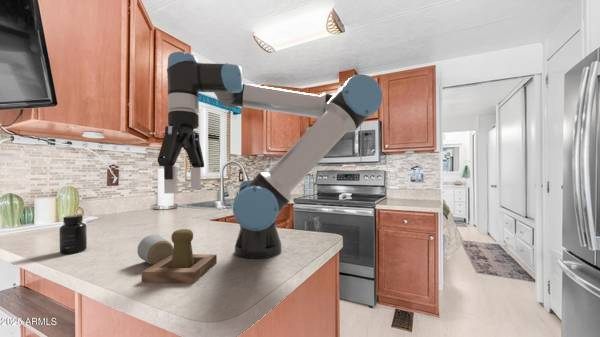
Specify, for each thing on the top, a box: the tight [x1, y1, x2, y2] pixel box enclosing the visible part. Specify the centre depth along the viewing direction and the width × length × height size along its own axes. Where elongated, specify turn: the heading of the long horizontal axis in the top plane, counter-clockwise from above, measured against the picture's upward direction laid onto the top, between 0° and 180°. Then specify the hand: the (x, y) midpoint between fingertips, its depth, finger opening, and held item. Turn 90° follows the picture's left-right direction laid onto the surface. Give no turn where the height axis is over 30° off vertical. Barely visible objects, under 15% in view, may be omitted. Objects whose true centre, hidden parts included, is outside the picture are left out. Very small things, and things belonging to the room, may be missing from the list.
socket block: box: [141, 253, 218, 284], centre depth 66 cm, size 13×13×2 cm
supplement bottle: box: [59, 214, 88, 255], centre depth 85 cm, size 7×7×12 cm
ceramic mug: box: [137, 234, 174, 266], centre depth 74 cm, size 11×8×8 cm
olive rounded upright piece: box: [170, 228, 194, 268], centre depth 66 cm, size 6×6×11 cm
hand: (184, 191), depth 67 cm, fingers open, 13 cm apart
